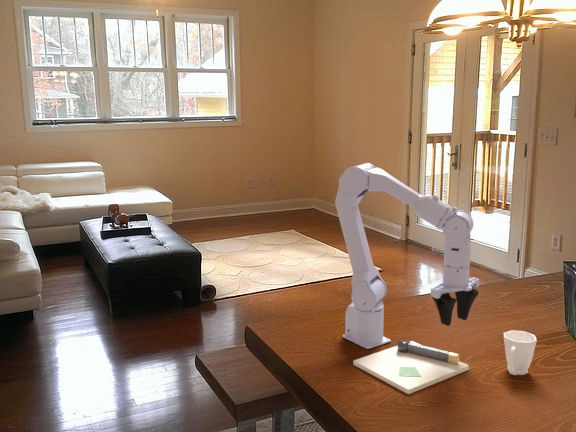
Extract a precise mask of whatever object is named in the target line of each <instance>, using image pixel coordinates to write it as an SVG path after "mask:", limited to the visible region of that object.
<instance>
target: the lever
mask: <svg viewBox="0 0 576 432" xmlns="http://www.w3.org/2000/svg"><path fill="white" fill-rule="evenodd" d="M418 344H419V343H418ZM418 344H414V343H410V340H407V339H399V340H398V341H397V346H398V351H399V352H403V353H406V352H409V353H413V354H417V355H421V356H425V357H429V358H433V359H437V360H441V361H445V362H448V363H452V364H456V365H457V364H458V363H459V361H460V353H455V352H452V351H447V350H443V349H438V348H435V347H432V346H431V347H429V346H427V345H424V344H421V345H418Z"/></svg>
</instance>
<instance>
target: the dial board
mask: <svg viewBox="0 0 576 432" xmlns="http://www.w3.org/2000/svg"><path fill="white" fill-rule="evenodd" d="M409 342H410V343H414V344H418V345H422V344H420V343H419V342H415V341H414V340H411V341H410V340H409ZM352 362H353V363H352V365H353V366H355V367H356V368H359V369H360V370H362V371H365V372H366V373H368V374H370V375H372V376H373V377H374V378H375V377H376V378H377V379H378V380H381V381H383V382H384V383H386V384H388V385H390V386H391V387H393V388H396V389H398V390H399V391H401V392H403V393H405V394H407V395H410V394H413V393H415V392H417V391H419V390H422V389H425V388H428V387H430V386H432V385H435V384H437V383H439V382H442V381H445V380H447V379H450V378H452V377H454V376H457V375H459V374H461V373H464V372H467V371H469V370H470V365H469V364H467V363H465V362H462V361H460V360H459V363H458V364H457V365H456V364H452V363H448V362H445V361H441V360H437V359H433V358H429V357H425V356H421V355H417V354H413V353H409V352H406V353H403V352H399V351H398V345H394V346H392V347H390V348H386V349H384V350H380V351H378V352H374V353H371V354H369V355H366V356H362V357H359V358H357V359H354V360H353V361H352Z"/></svg>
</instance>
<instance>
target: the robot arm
mask: <svg viewBox="0 0 576 432" xmlns="http://www.w3.org/2000/svg"><path fill="white" fill-rule="evenodd" d="M368 192H384V193H387V194H389V196H392V197H393V198H395V199H397V200H400V201H401V202H403V203H405V204H406V205H408V206H410V207H412V208H413V210H414V213H415V215H416V216H417V217H419V218H420V219H421V220H424V221H425V222H426V223H429V224H430V225H431V226H433V227H435V228H437V229H438V230H442V233H443V235H444V236H445V241H444V247H443V249H444V250H443V270H442V271H443V272H442V274H443V275H442V282H439V284H437V285H436V286H434V287H431V288H430V298H432V299H433V302H434V303H435V305H436V309H437V311H438V313H439V314H438V315H439V318H440V323H441V324H442V325H444V326H447V327H448V326H449V327H450V325H451V323H452V318H453V317H452V316H453V311H454V307H455V304H456V312H457V314H456V315H457V319H460V320H463V321H467V320H468V316H469V313H470V310H471V308H472V306H473V303H474V302H475V300H476V298H477V297H478V295H479V290H477V289H475V288H479V287H480V278H478V277H477V278H476V277H474V276H472V277H470V267H471V252H472V251H471V249H472V248H471V242H472V241H471V234H470V233H471V232H472V230H473V228H474V220H473V217H472V216H471V215H470V214H469V213H468V212H467V211H466V210H463V209H461V210H459V209H458V207H456V206H450V205H449V204H448V203H446V202H444V201H443V200H441V199H440V196H439V195H438V194H436V193H434V194H433V195H432V194H431V193H426V194H420V193H419V192H417V191H416V190H414V189H412V188H411V187H410V186H408V185H406V184H405V183H403V182H402V181H400V180H399V179H397V178H396V177H394V176H393V175H392V174H389V173H388V172H386V171H385V170H384V169H382V168H380V167H376V166H375V165H373V164H372V163H369V162H365V163H361V164H359V165H355V166H354V165H352V166H349V167H348V168H346V169H345V171H344V172H343V173H342V174H341V175H340V177H339V178H338V188H337V192H336V196H335V201H334V205H335V208H336V212H337V216H338V219H339V224H340V226H341V232H342V235H343V238H344V242H345V246H346V251H347V254H348V258H349V261H350V265H351V270H352V276H351V281H350V283H351V289H352V290H351V294H350V295H351V296H350V297H351V298H350V299H351V303H349V305H348V306H347V308H346V309H345V310H346V311H345V321H344V322H345V325H344V326H345V330H344V331H345V333H344V334H342V338H344V339H346V340H348V341H350V342H352V343H354V344H356V345H357V346H360V347H362V348H363V349H366V350H369V349H372V348H376V347H378V346H381V345H384V344H388V343H390V342H392V341H391V339H390V338H388V337H386V336H384V317H385V316H384V314H385V313H384V312H385V305H384V302H383V298H384V297H385V296H386V294H387V291H388V288H387V285H386V282H385V281H384V279H383V278H382V277H381V274H380V271H379V269H377V268H376V266H375V265H374V262H373V258H372V255H371V250H370V245H369V242H368V238H367V236H366V231H365V227H364V223H363V220H362V219H363V218H362V216H361V211H360V208H359V203H360V202H361V200H362V199H363V198H364V196H365V195H366V194H367V193H368ZM453 293H454V295H455V298H453V297H452V295H451V294H453Z"/></svg>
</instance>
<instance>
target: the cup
mask: <svg viewBox="0 0 576 432" xmlns="http://www.w3.org/2000/svg"><path fill="white" fill-rule="evenodd" d="M503 341H504V342H503V343H504V353H505V358H506V363H507V366H506V367H507V371H508V372H509V374H510V375H512V376H517V375H518V376H524V375H526V374H528V373H529V371H528V370H529V369H530V367H531V363H532V361H533V358H534V353H535V349H536V345H537V342H538V339H537V337H536V335H535V334H533V333H530V332H528V331H524V330H513V329H511V330H509V331H506V332H503Z"/></svg>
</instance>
